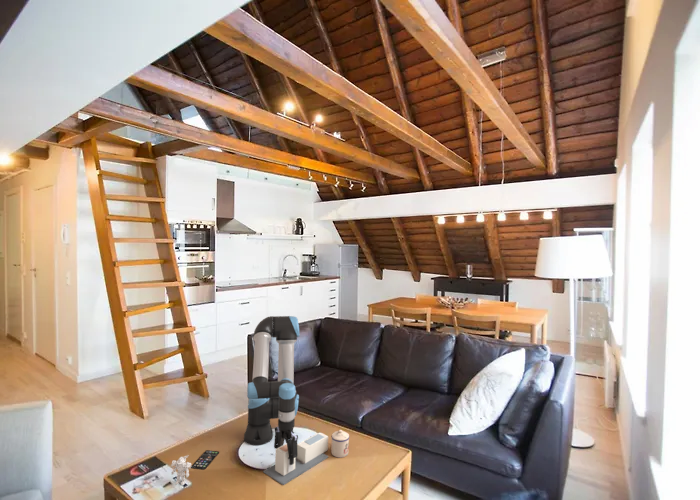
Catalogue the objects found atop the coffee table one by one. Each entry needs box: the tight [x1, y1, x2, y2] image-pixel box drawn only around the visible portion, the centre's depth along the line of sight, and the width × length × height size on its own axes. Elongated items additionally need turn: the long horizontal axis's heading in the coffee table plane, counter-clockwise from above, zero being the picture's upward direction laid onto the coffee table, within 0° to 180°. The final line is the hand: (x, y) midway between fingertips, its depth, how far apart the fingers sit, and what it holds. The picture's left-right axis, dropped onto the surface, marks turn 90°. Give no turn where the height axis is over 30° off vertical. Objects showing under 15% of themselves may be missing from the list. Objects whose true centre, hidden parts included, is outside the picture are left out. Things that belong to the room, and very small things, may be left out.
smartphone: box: [190, 449, 220, 471], centre depth 184 cm, size 7×1×15 cm
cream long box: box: [295, 432, 329, 464], centre depth 190 cm, size 6×17×7 cm, turn 141°
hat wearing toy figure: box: [170, 454, 192, 486], centre depth 166 cm, size 9×4×12 cm, turn 81°
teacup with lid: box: [331, 429, 350, 458], centre depth 195 cm, size 12×9×12 cm
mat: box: [262, 452, 329, 486], centre depth 182 cm, size 14×29×1 cm, turn 141°
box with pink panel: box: [274, 442, 296, 476], centre depth 176 cm, size 6×7×10 cm
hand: (285, 467), depth 177 cm, fingers closed on box with pink panel, 6 cm apart
